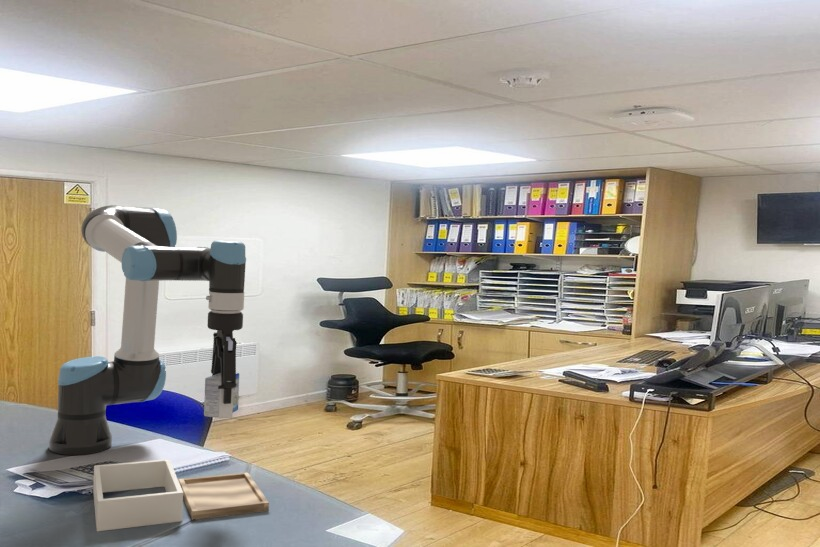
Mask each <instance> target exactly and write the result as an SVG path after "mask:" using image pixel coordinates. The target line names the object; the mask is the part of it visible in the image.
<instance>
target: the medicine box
mask: <svg viewBox="0 0 820 547" xmlns="http://www.w3.org/2000/svg"><path fill="white" fill-rule="evenodd" d="M204 378H205V379H204V402H203V403H204V408H203V416H204V417H209V418H217V419H219V402H220V389H218V386H219V385H221V373H218V374H215V375H213V376H212V375H210V376H207V377H204ZM227 382H230V381H227ZM239 389H240V373H239V372H236V387H234V388H233V411H232V414H233V413H234V412H236V411H238V410H239V398H240V397H239V396H240V390H239Z"/></svg>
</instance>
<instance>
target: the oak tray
mask: <svg viewBox="0 0 820 547" xmlns="http://www.w3.org/2000/svg"><path fill="white" fill-rule="evenodd" d="M178 481H179V484H180V486H181V488H182V491H183V502H184V504H185V505H186V509H187V508H188V509H187V511H188V514H189V513H190V514H189V516H190V518H191V520H192V521H194V520H193V519H196V520H202V519H203V518H204V519H210V518H211V517H212V518H219V517H220V516H221V517H227V516H226V515H229V516H235V515H236V514H237V515H245V514H251V513H252V514H253V513H261V512H268V511H270V510H269V508H270V503H269V502H270V501H268V499H267V497H266V496H265V495H264V493H263V492H262V490H261V488H259V486H258V484H257V483H256V482H255V480H254V479H253V478H252V476H251V475H250V474H249V472H237V473H228V474H219V475H218V474H216V475H206V476H205V475H204V476H196V477H187V478H186V477H185V478H184V477H183V478H178ZM218 516H219V517H218ZM204 519H203V520H204Z"/></svg>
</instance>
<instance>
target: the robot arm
mask: <svg viewBox="0 0 820 547" xmlns="http://www.w3.org/2000/svg"><path fill="white" fill-rule="evenodd" d="M80 228H81V235H82V238H83V240H84V241H85V243H86V244H87V245H88V246H89V247H90V248H92V249H94V250H96V251H99V252H103V253H107V254H108V255H109V256H111V257H113V258H114V259H116V261H118V262H120V263H121V270H122V273H123V276H124V278H125V285H124V298H123V299H124V300H123V312H122V314H123V315H122V326H121V327H122V328H121V342H120V348H119V349H117V351H115V352H114V354H113V355H114V357H113V361H109V360H108V359H107V357H105V356H98V355H97V356H85V357H79V358H75V359H71V360H69V361H67V362H65V363H63V364H62V365H61V366H60V368H59V371H58V380H57V384H58V388H57V389H58V390H57V395H58V396H57V419H56V421H55V424H54V427H53V429H52V433H51V435H50V438H49V440H48V442H49V444H48V448H49V449H48V450H49V451H51V452H52V453H54V454H59V455H67V456H68V455H71V456H74V455H75V456H78V455H89V454H94V453H98V452H103V451H106V450H107V449H109V448H110V447H112V445H113V443H112V442H113V441H112V440H113V439H112V438H113V437H112V436H113V435H112V433H111V430H110V426H109V424H108V420H107V416H106V411H107V410H106V409H107V406H112V405H114V406H115V405H121V404H131V403H143V402H146V401H152V400H153V401H154V400H155V399H156V398H158V397H159V396H160V395H161V394H162V392H163V390H164V387H165V385H166V378H167V371H166V364H165V362H164V360H163V359H162V358H160V353H159V352H158V351H157V350H156V349H155V341H156V340H155V338H156V337H155V336H156V325H157V312H158V302H159V301H158V300H159V288H160V287H159V286H160V281H162V282H163V281H184V282H185V281H190V282H191V281H192V282H193V281H195V282H196V281H202V282H203V281H204V282H205V281H206V282H208V292H209V293H208V294H209V295H206V296H205V300H206V301H208V307H207V308H208V309H209V310H210V311H209V312H208V313H207V328H208V329H209V330H212V331H214V332H213V334H212V335H213V345H212V358H211V369H210V373H211V376H213V375H215V374H218V373H221V385H219V386H218V389H220V402H219V418H218V419H220V420H221V419H232V418H233V413H232V411H233V388H234V387H236V373H237V359H236V358H237V355H236V354H237V344H238V343H237V340H236V338H235V337H234V333H233V332H234V331H240V330H242V329H243V327H244V325H243V324H244V314H243V312H242V311H243V310H244V309H245V306H244V305H245V282H246V281H245V280H246V279H245V278H246V262H247V257H246V244H245V243H244V242H241V241H234V240H233V241H231V240H230V241H229V240H227V241H226V240H214V241H212V242H211V245H210V247H208V246H207V247H206V246H197V247H193V246H192V247H189V246H185V247H184V246H180V247H179V246H176V245H177V242H178V241H177V240H178V233H177V227H176V223H175V220H174V218H173V216H172V214H171V213H170V212H169V211H167V210H166V209H162V208H157V207H156V208H155V207H142V206H124V205H116V204H115V205H112V204H111V205H104V206H100V207H98V208H96V209H94V210H92V211H91V212H89V213H88V214H87V216H85V218H84V219H83V221H82V224H81V227H80ZM227 381H230V382H227Z"/></svg>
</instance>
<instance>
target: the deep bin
mask: <svg viewBox="0 0 820 547" xmlns="http://www.w3.org/2000/svg"><path fill="white" fill-rule="evenodd" d="M92 487H93V488H92V489H93V490H92V491H93V503H94V504H93V505H94V513H95V514H94V516H95V526H96V527H95V528H96V532H103V531H111V530H120V529H129V528H137V527H145V526H152V525H153V526H154V525H160V524H161V525H162V524H163V525H164V524H168V523H169V524H171V523H177V522H178V523H179V522H182V521H183V508H184V506H183V504H184V499H183V491H182V488H181V486H180V484H179V478H178V477H177V475H176V472H175V469H174V467H173V464H172V462H171V460H170V458H168V459H167V458H165V459H156V460H145V461H142V460H141V461H132V462H122V463H121V462H120V463H107V464H98V465H93V486H92ZM160 487H161V488H162V487H164V489H165V492H158V493H147V494H140V495H128V496H119V497H118V496H117V497H110V498H104V494H103V493H111V492H122V491H131V490H133V491H134V490H143V489H152V488H160Z"/></svg>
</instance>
